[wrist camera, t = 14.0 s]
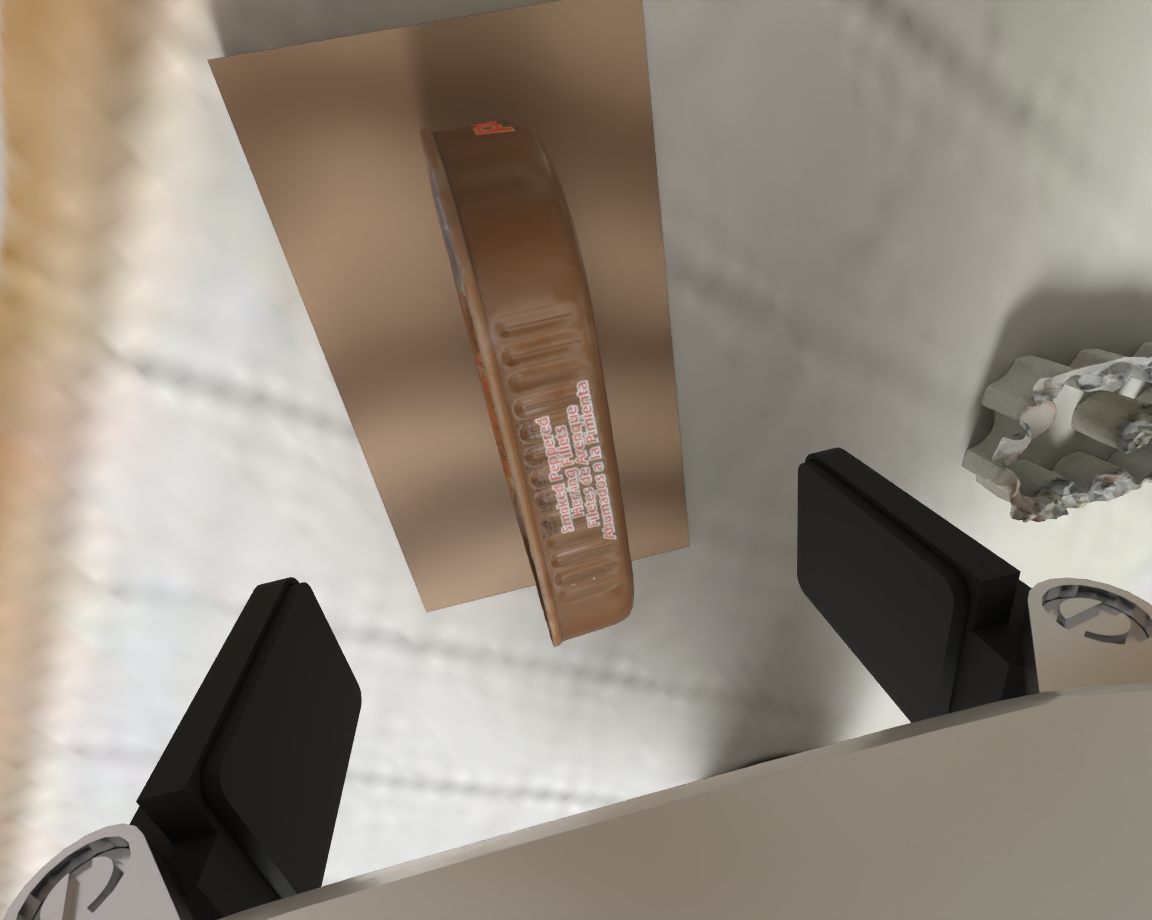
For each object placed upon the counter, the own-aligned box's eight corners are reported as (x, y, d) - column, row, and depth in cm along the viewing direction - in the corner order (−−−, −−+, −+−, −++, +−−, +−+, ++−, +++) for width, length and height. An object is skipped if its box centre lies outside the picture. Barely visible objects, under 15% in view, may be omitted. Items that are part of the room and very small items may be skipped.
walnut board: (678, 527, 27) (689, 546, 25) (428, 589, 26) (426, 612, 24) (627, 1, 17) (641, -14, 16) (228, 69, 16) (207, 60, 15)
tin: (418, 140, 17) (382, 114, 9) (522, 122, 17) (568, 82, 9) (522, 544, 24) (549, 712, 16) (594, 527, 24) (653, 685, 17)
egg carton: (942, 485, 29) (1009, 530, 25) (993, 341, 26) (1079, 369, 22) (1114, 470, 31) (1201, 510, 27) (1184, 334, 27) (1294, 358, 24)
